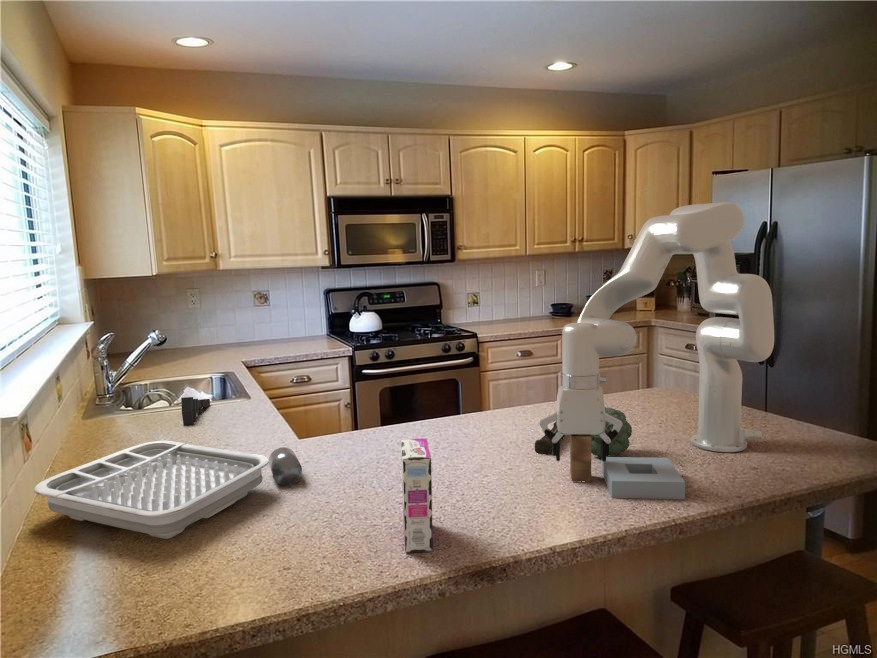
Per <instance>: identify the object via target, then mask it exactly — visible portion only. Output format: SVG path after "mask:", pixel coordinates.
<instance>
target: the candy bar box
mask: <svg viewBox="0 0 877 658" xmlns="http://www.w3.org/2000/svg"><path fill="white" fill-rule="evenodd" d="M400 444H401V451H400V452H401V453H400V454H401V456H400V457H401V487H402V488H401V490H402V519H403V520H402V522H403V525H402V526H403V538H404V539H403V540H404V551H405V554H407V553H411V554H412V553H426V552H427V553H428V552H433V551H434V550H433V549H434V545H433V544H434V539H433V537H434V536H433V532H434V531H433V490H432V489H433V486H432V483H433V482H432V478H433V477H432V456H431V452H430V447H429V443H428V439H427V438H410V439H409V438H408V439H401V443H400Z"/></svg>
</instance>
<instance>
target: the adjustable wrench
mask: <svg viewBox="0 0 877 658" xmlns="http://www.w3.org/2000/svg"><path fill="white" fill-rule="evenodd" d="M210 406H211V398H203V399H202V398H201V399H199V398H194V397H193V396H188V397H181V415H182V416H181V418H182V423H183V427H185V426H194V425H195V424H194V423H196V422H197V415H198V414H201V413H202V412H203V409H202V408H208V407H210Z"/></svg>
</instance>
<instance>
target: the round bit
mask: <svg viewBox="0 0 877 658" xmlns="http://www.w3.org/2000/svg"><path fill="white" fill-rule="evenodd" d="M268 459H269V463H268V466H269V469H270V472H271V475H272V477H273V479H274V481H275V482H276V483H277V484H279V485H281V486H291V485H294V484H295V483H297V482H298V481H299V480H300V478H302V477H301V476H302V473H303V468H302V465H301V463H300V460H299V459H298V457H297V455H296V453H295V452H294V450H292V449H291V448H289V447H284V446H283V447H278V448H277V449H275V450H273V451H272V452H271V453H270V455H269V457H268Z"/></svg>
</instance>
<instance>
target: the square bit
mask: <svg viewBox="0 0 877 658" xmlns="http://www.w3.org/2000/svg"><path fill="white" fill-rule="evenodd" d="M569 439H570V440H569V449H570V452H569V454H570V455H569V457H570V458H569V464H570V465H569V466H570V467H569V468H570V469H569V473H570V475H571V476H570V475H569V476H570V480H571V479H572V480H571V482H572V481H581V482H580V483H583V482H582V481H585V482H584V483H592V453H591V435H569Z"/></svg>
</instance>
